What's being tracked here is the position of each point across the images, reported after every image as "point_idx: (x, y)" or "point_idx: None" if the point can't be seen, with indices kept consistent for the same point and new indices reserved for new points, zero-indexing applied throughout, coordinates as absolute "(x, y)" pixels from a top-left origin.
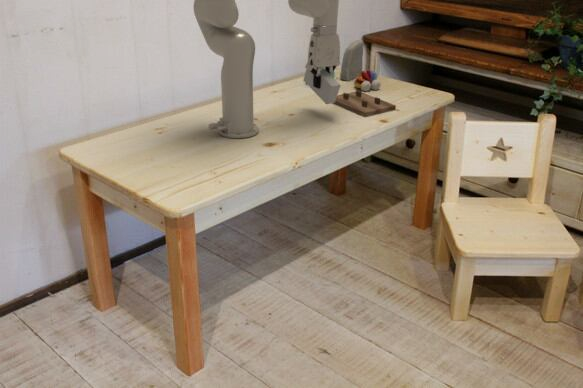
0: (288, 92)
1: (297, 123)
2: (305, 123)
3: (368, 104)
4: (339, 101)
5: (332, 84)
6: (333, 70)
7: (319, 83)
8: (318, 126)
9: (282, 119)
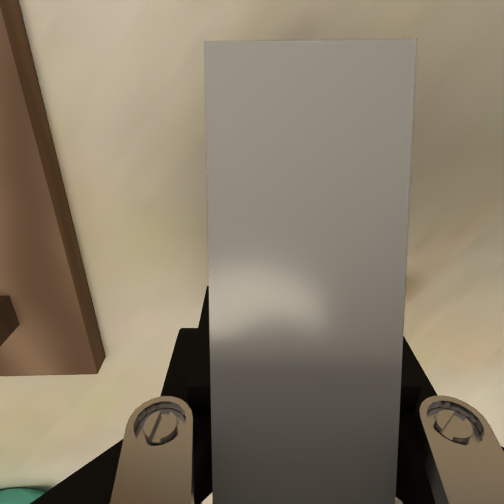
0: (206, 498)
1: (486, 160)
2: (452, 133)
3: None
4: (68, 294)
5: (369, 93)
6: (90, 468)
7: None
8: (436, 28)
9: (490, 258)
